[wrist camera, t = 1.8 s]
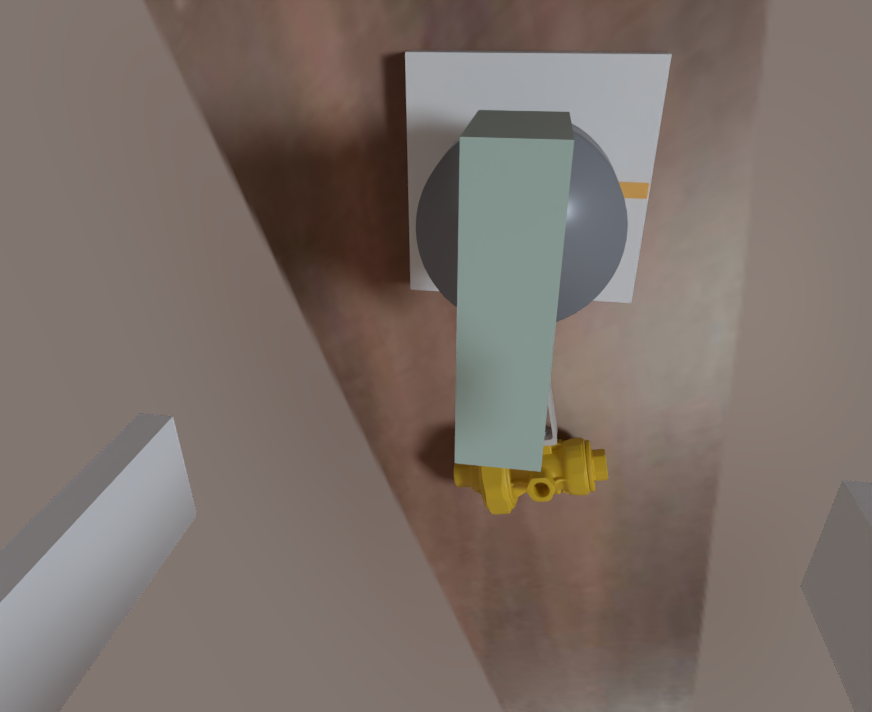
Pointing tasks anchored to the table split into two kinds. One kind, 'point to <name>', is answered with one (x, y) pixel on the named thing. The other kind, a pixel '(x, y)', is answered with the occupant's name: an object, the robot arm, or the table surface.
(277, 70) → the table surface
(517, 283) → the cap
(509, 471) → the pressure relief valve
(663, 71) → the base
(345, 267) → the table surface
